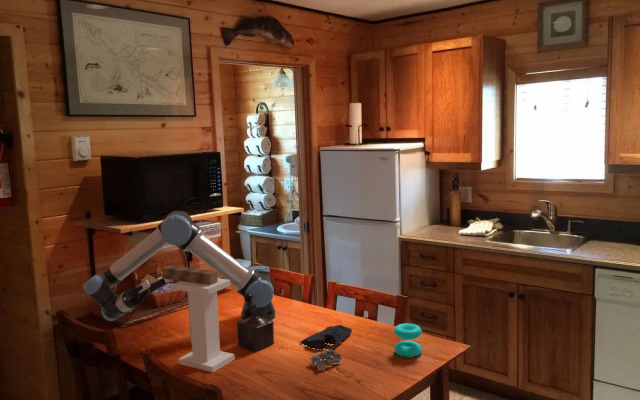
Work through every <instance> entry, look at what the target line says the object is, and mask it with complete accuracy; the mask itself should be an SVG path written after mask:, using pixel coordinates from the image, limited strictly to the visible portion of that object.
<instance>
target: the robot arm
mask: <svg viewBox="0 0 640 400" xmlns="http://www.w3.org/2000/svg"><path fill="white" fill-rule="evenodd" d="M168 244H169V245H171V246H174V247H176V248H178V249H180V250H181V251H182V252H190V253H191V254H192V255H194V256H195V257H197V258H198V259H199V260H200V261H202V262H203V263H205V264H206V265H207V266H209V267H210V268H211V269H213V271H217V274H219V275H220V276H222V277H223V279H227V280H230V281H231V284H232V285H234V286H235V291H236V293H238V294H239V295H240V296H242V297H244V295H245V294H247V293H251V294H252V295H253V298H252V303H253V304H256V308H257V309H256V315H257V316H260V315H261V314H262V317H265V318H267V319H268V320H271V321H273V320H274V319H275V318H276V310H275V306H274V304H273V302H272V300H273V297H274V295H275V294H274V292H275V289H274V286H273V283H272V281H271V275H270V274H271V271H270V267H269V266H266V265H253V266H245V265H243V263H241V262H239V261H238V260H237V259H236V258H234V257H233V256H232V255H230V254H229V253H228V252H227V251H225V250H224V249H223V248H221V247H220V246H218V245H217V244H216V243H214V242H213V241H212V240H211V239H209V238H208V237H207V236H206V235H205V234H203V231H202V228H201V227H200V226H199V225H197V224H196V223H195V222H193V219H192V217H191V215H190V214H189V213H188V212H186V211H184V210H173V211H172V212H170V213H168V214H167V216H166V217H165V218H164V219H163V220H162V221H161V222H160V223H159V224H157V225H156V229H155V230H153V232H151V233H150V234H148V236H147V237H145V238H144V239H143V240H141V241H140V242H138V244H137V245H135V246H134V247H132V248H131V249H130V250H129V251H128V252H126V253H125V254H124V255H122V257H120V258H119V259H117V261H115V262H114V263H113V264H112V265H110V266H109V267H108V268H106V269H105V270H103V271H102V272H100V273H99V274H94V275H93V276H92V277H91V278H89V279H88V280H87V281H86V282H85V283H83V285H82V288H83V290H84V291H85V293H86V294H87V295H89V296H90V297H91V298H92V299H93V301H95V302H96V303H97V304H98V305H99V307H100V308H101V316H102V318H103V319H104V320H105V321H108V322H113V321H116V320H118V319H120V318H122V317H123V316H124V315H125V314H128V313H131V312H133V311H132V310H134V309H135V308H136V307H138V306H140V305H142V303H143V302H144V298H146V297H147V296H148V295H150V294H152V293H154V292H155V291H157V290H159V289H161V288H163V287H164V286H167V285H169V284H171V282H172V281H173V280H170V279H163V278H160V279H159V280H157V281H154V282H153V283H150V282H149V279H146V280H144V281H143V282H141V283H140V284H138V285H136V286H132V287H130V288H128V289H126V290H124V291H123V292H122V293H120V294H119V295H118V294H117V292H116V291H115V290H114V288H115V286H116V285H118V284H119V283H120V282H121V281H123V280H124V279H125V278H126V277H128V276H129V275H130V274H131V273H133V272H134V271H135V270H137V269H138V268H139V267H141V265H143V264H144V263H145V262H146V261H148V260H149V259H150V258H151V257H153V256H154V255H156V253H158V252H159V251H160V250H162V249H163V248H164V247H165V246H167V245H168ZM253 304H251V306H249V307H248V308H253ZM246 306H247V305H246V301H245V300H244V303H243V305H242V309H241V311H240V312H241V313H240V314H241V316H240V317H241V321H243V320H245V319H248V318H250V317H253V316H254V310H246V309H245V307H246Z"/></svg>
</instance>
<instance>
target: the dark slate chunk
mask: <svg viewBox="0 0 640 400" xmlns="http://www.w3.org/2000/svg"><path fill="white" fill-rule="evenodd" d="M324 329H325V330H324ZM324 329H323V330H321V331H318V332H316V333H314V334H311V335H309V336H308V337H305V338H304V339H302V340H301V341H300V342H299V344H300V343H302V344H304V345H307V346H308V347H310V348H315V349H319V350H320V349H321V350H322V349H323V348H325V349H332V350H333V351H334V348H335V347H336V346H338V345H339V344H340V342H342V343H343V342H344V341H345V340H346V339H347V338H348V337H347V336H349V335H350V334H351V333H352V331H353V329H352V328H351V327H348V326H344V325H342V324H337V325H330V326H327V327H326V328H324ZM344 339H345V340H344ZM325 343H327V344H328V343H329V344H334V345H332V346H329V345H325ZM340 345H341V344H340ZM340 345H339V346H340ZM339 346H338V347H339ZM308 347H307V348H308ZM336 348H337V347H336ZM336 348H335V349H336Z"/></svg>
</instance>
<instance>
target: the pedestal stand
mask: <svg viewBox="0 0 640 400" xmlns="http://www.w3.org/2000/svg"><path fill="white" fill-rule="evenodd" d="M217 278H218V282H217V283H215V284H212V285H205V284H198V283H191V282H184V281H177V282H174V283H173V290H177V291H183V292H187V291H188V292H189V308H190V324H191V339H192V342H191V351H189V352H188V353H186V354H185V355H183V356H181V357H179V358H178V364H179V365H182V366H186V367H190V368H194V369H197V370H202V371H205V372H209V373H215V372H216V370H217V371H218V370H220V369H221V368H223V367H225V366H227V365H228V364H229V362H230V363H231V362H233V361H235V358H236V357H235V354H234V353H231V352H226V351H222V350H221V344H220V342H221V341H220V326H219V324H220V323H219V307H218V292H219V291H221V290H223V289H226V288H228V287H230V286H232V285H231V284H232V283H231V281H230V280H227V279H226V278H220V277H217ZM232 360H233V361H232ZM224 365H225V366H224ZM219 368H220V369H219ZM214 371H215V372H214Z"/></svg>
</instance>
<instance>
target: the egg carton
mask: <svg viewBox="0 0 640 400" xmlns="http://www.w3.org/2000/svg"><path fill="white" fill-rule="evenodd" d="M332 356H333V357H334V358H333V357H332ZM342 358H344V356H343V355H341V354H340V353H338V352H336V351H334V349H333V350H332V349H329V350H328V351H326V352H325V351H320V353H317V354H312V355H310V357H309V358H308V359H309V361H310V366H311V365H312V366H317V367H316V368H318V369H325V368H326V366H332V365H333V363H339V362H340V360H341V361H342ZM320 359H322V360H321V361H320ZM324 359H326V360H324ZM319 361H320V362H319ZM340 363H341V362H340ZM312 366H311V367H312ZM333 366H334V365H333ZM326 369H327V368H326Z"/></svg>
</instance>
